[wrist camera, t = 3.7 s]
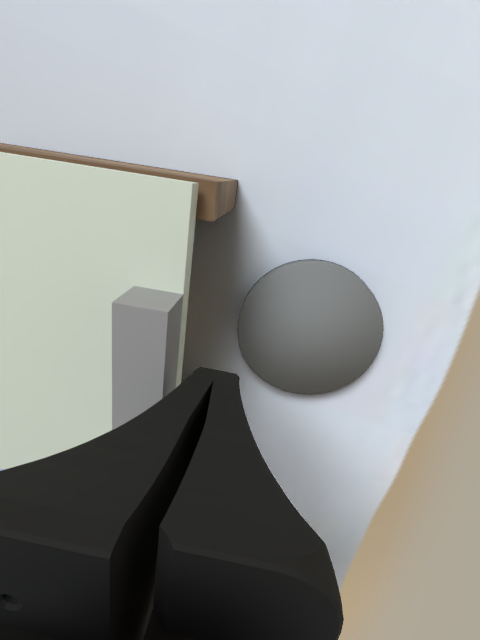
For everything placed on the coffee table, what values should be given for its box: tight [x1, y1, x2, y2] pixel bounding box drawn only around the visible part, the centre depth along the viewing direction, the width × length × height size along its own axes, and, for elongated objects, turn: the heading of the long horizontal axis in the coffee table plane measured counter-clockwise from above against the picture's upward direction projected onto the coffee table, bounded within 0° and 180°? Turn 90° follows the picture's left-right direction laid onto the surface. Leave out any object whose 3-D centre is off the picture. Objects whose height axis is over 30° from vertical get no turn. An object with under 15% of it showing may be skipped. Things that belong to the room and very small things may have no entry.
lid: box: [0, 152, 199, 469], centre depth 12 cm, size 13×9×2 cm
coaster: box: [237, 259, 383, 394], centre depth 18 cm, size 7×7×1 cm
